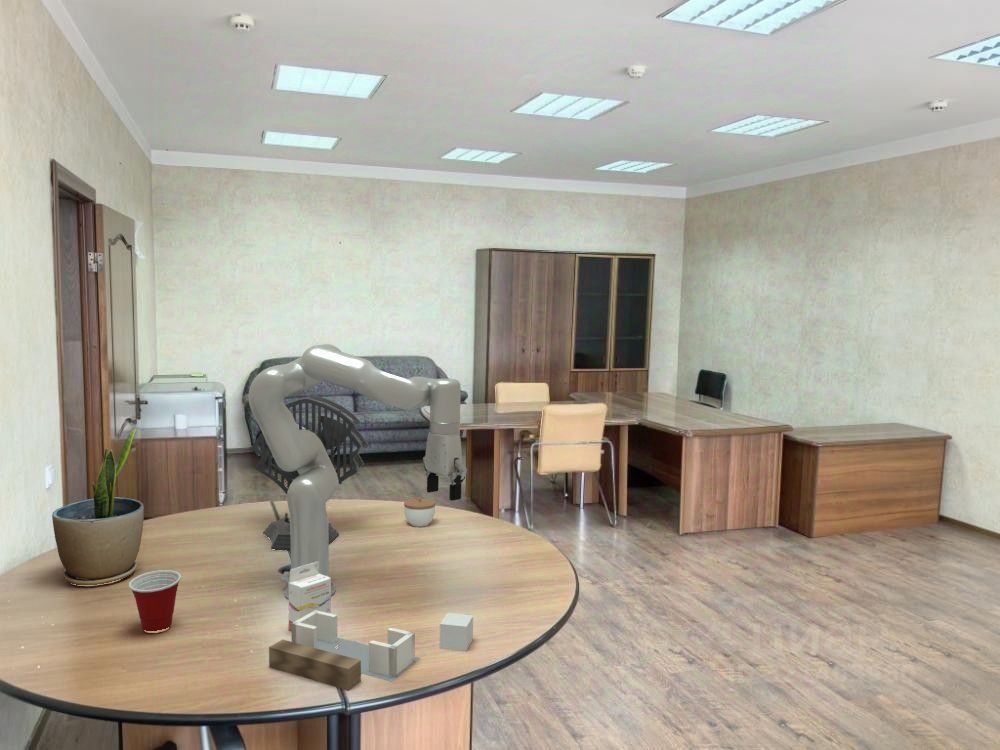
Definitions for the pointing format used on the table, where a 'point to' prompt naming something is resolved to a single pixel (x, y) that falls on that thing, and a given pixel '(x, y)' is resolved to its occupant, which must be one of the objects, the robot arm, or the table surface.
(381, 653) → the end cap
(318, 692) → the table surface
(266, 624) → the table surface
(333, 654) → the brown wooden block
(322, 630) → the end cap
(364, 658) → the mat
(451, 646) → the gray cube
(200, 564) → the table surface
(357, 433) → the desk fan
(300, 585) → the ink cartridge box
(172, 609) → the plastic cup
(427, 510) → the lidded jar
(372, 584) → the table surface
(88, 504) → the potted plant
